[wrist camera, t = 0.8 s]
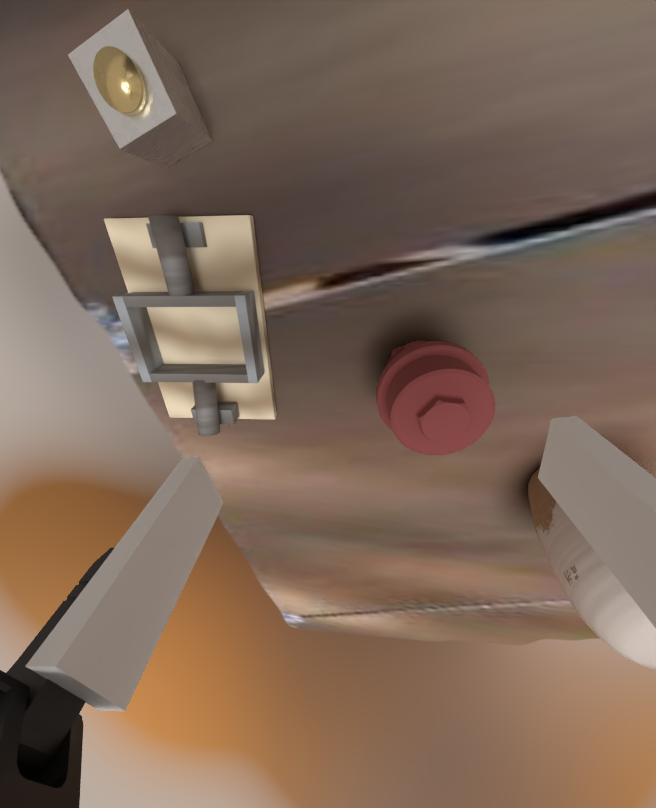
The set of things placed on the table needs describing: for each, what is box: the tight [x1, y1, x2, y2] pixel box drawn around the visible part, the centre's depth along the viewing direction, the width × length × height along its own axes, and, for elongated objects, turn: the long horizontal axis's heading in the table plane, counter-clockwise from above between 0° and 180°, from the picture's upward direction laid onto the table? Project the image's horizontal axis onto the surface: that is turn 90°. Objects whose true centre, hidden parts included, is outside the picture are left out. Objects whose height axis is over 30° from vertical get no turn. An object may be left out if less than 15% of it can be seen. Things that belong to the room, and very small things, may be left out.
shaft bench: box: [104, 215, 277, 436], centre depth 30 cm, size 22×14×6 cm, turn 1°
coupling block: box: [68, 9, 212, 168], centre depth 21 cm, size 5×5×7 cm
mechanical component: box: [376, 341, 495, 455], centre depth 28 cm, size 12×10×10 cm
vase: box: [528, 468, 656, 669], centre depth 30 cm, size 16×16×23 cm
